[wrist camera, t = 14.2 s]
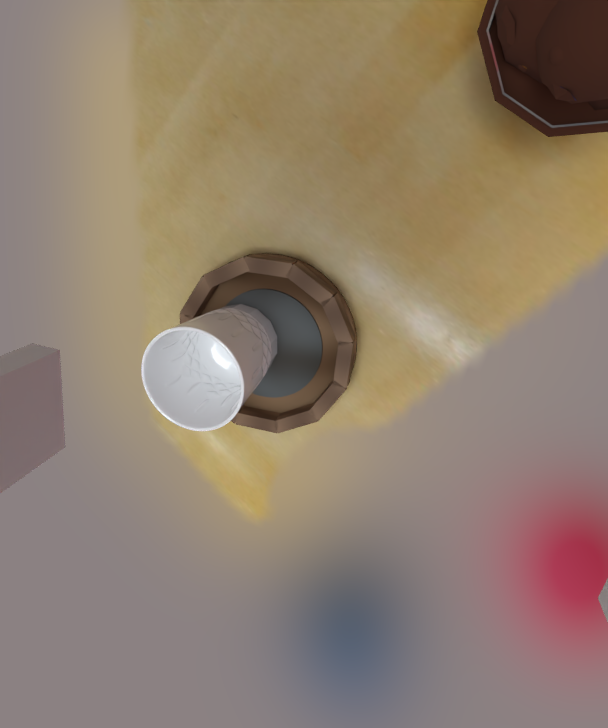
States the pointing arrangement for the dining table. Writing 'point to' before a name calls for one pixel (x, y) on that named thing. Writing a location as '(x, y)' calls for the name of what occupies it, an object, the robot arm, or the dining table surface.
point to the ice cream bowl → (549, 62)
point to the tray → (286, 336)
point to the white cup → (208, 366)
